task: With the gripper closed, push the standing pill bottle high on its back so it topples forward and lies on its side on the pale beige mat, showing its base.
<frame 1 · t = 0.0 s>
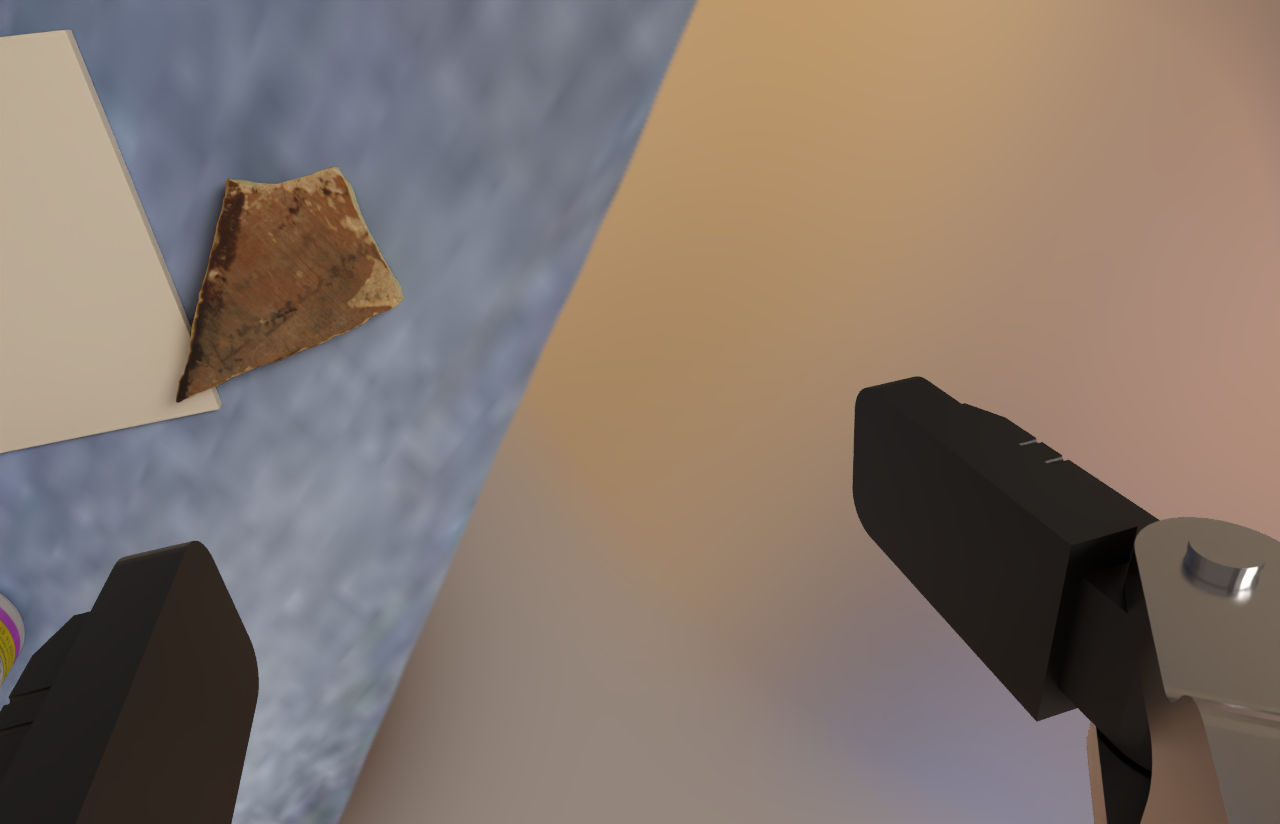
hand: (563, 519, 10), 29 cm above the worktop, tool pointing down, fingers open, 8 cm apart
shard: (304, 292, 36), on the worktop, touching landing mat
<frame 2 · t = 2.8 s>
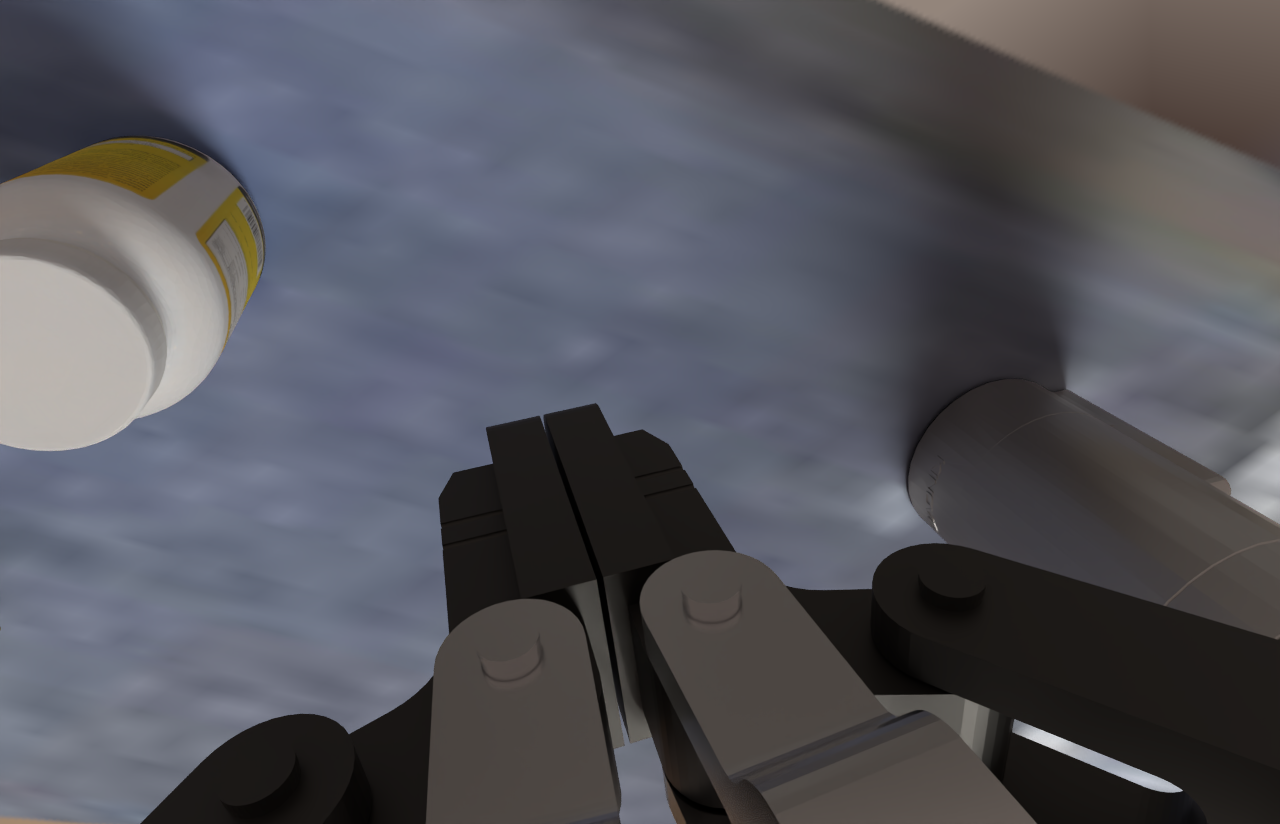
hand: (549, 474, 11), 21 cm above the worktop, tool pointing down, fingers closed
pill bottle: (169, 230, 27), on the worktop
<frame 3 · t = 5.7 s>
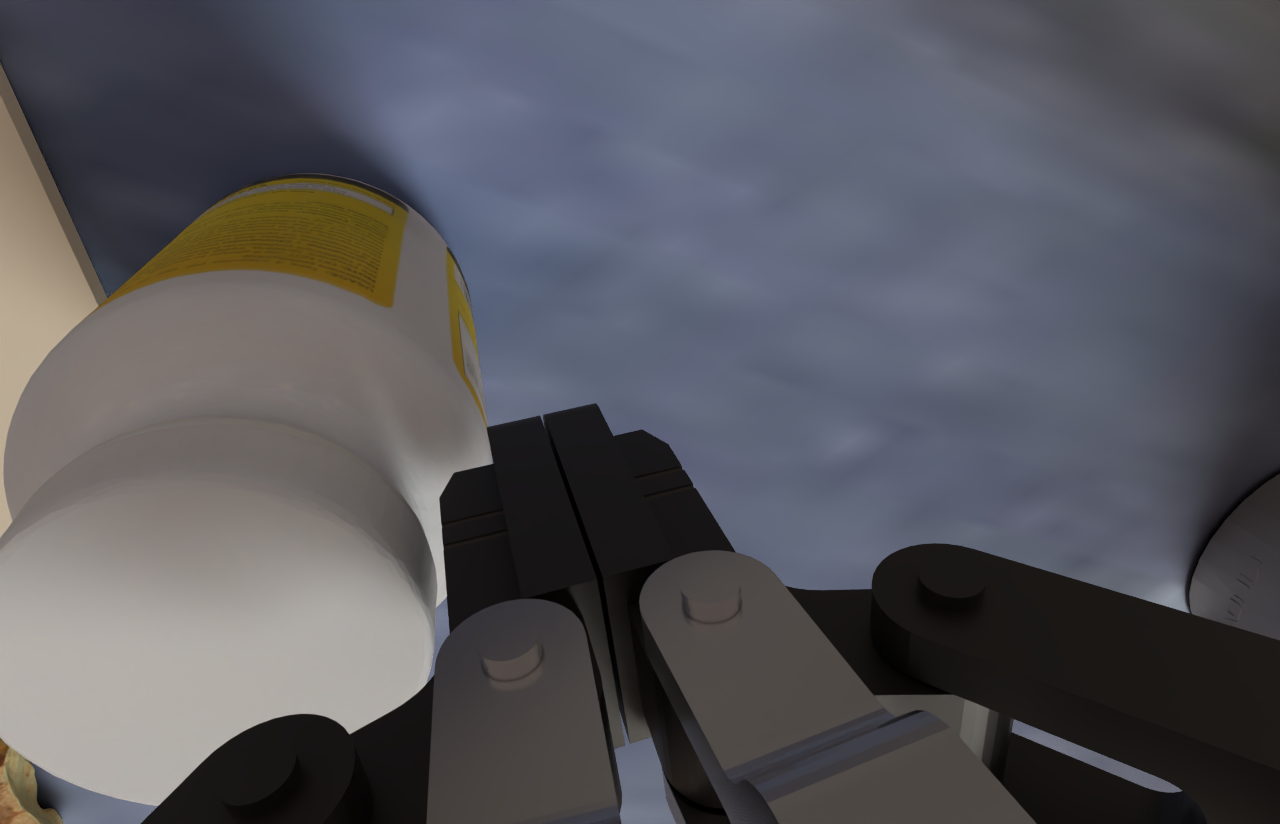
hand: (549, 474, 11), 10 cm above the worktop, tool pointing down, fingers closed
pill bottle: (334, 305, 19), on the worktop, touching gripper
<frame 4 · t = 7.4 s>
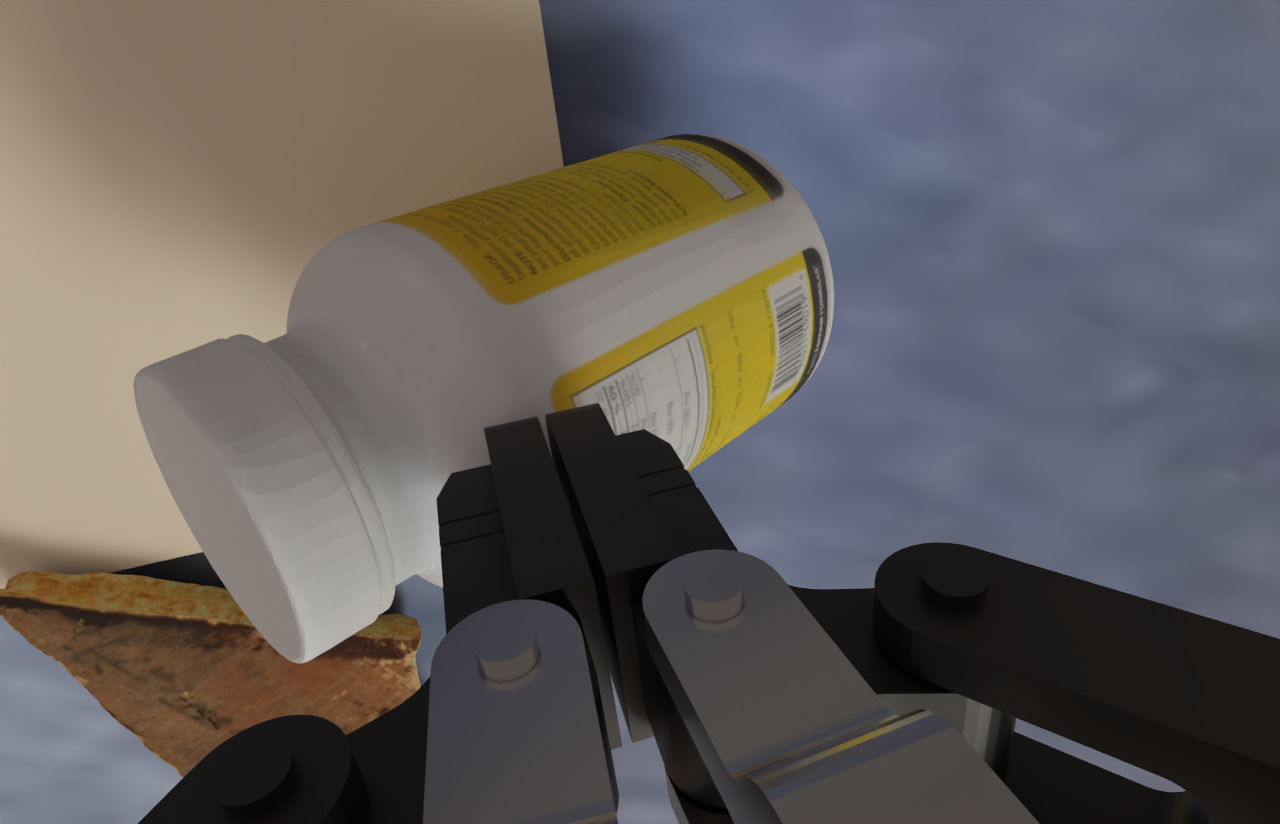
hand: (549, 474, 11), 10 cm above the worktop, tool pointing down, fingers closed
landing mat: (230, 285, 18), on the worktop
pill bottle: (730, 272, 18), point 3 cm above the worktop, touching gripper
shard: (239, 681, 23), on the worktop, touching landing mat
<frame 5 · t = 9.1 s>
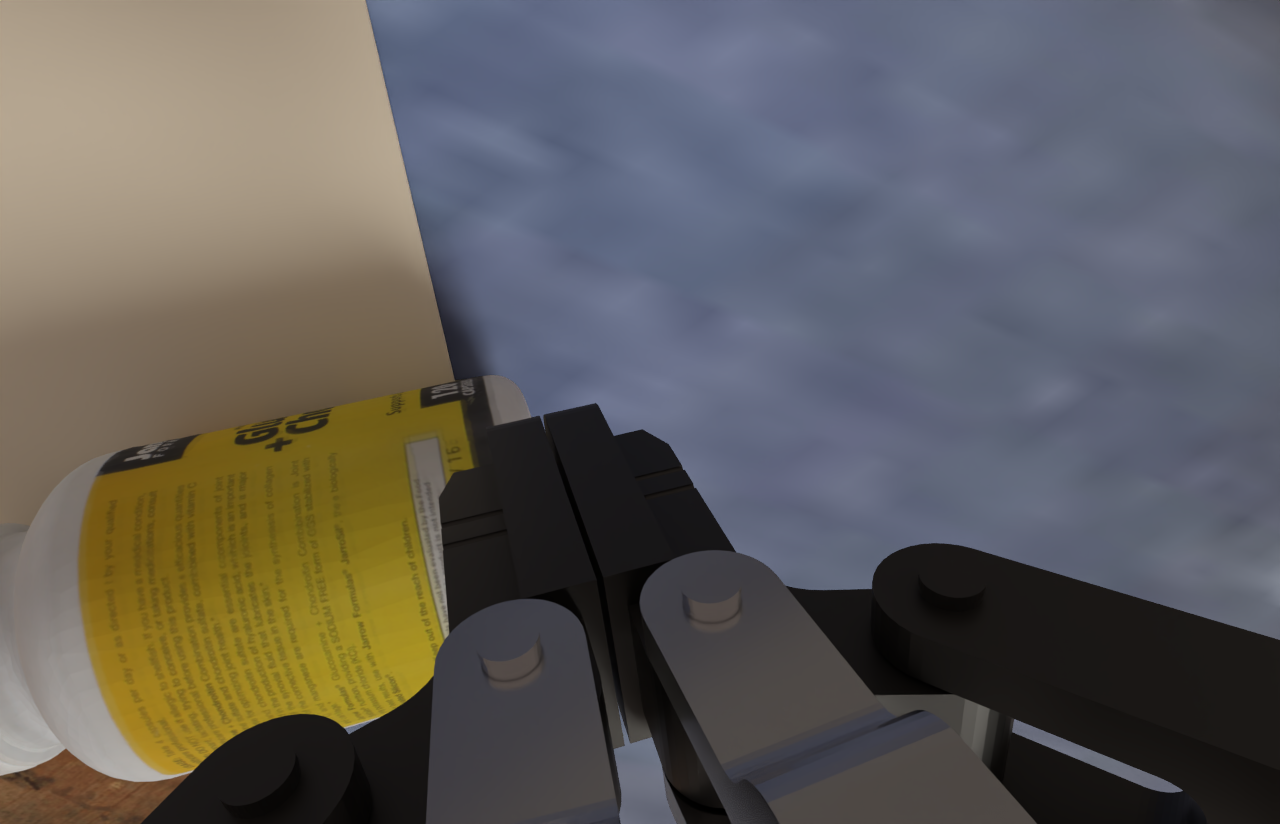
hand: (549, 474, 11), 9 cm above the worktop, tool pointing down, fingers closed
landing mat: (22, 298, 16), on the worktop
pill bottle: (559, 510, 17), point 4 cm above the worktop, touching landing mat
shard: (74, 731, 21), on the worktop, touching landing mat
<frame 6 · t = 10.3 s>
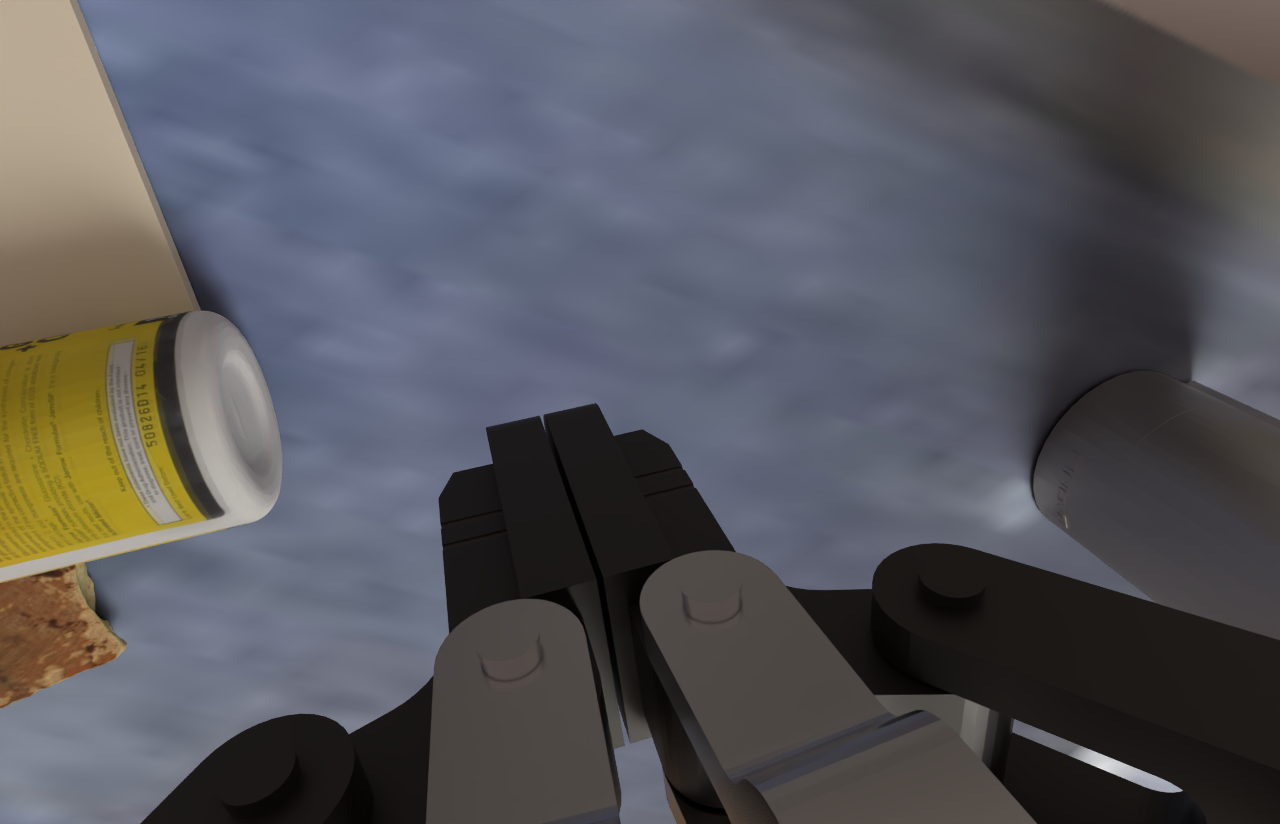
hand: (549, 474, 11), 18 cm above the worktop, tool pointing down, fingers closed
pill bottle: (260, 411, 23), point 4 cm above the worktop, touching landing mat
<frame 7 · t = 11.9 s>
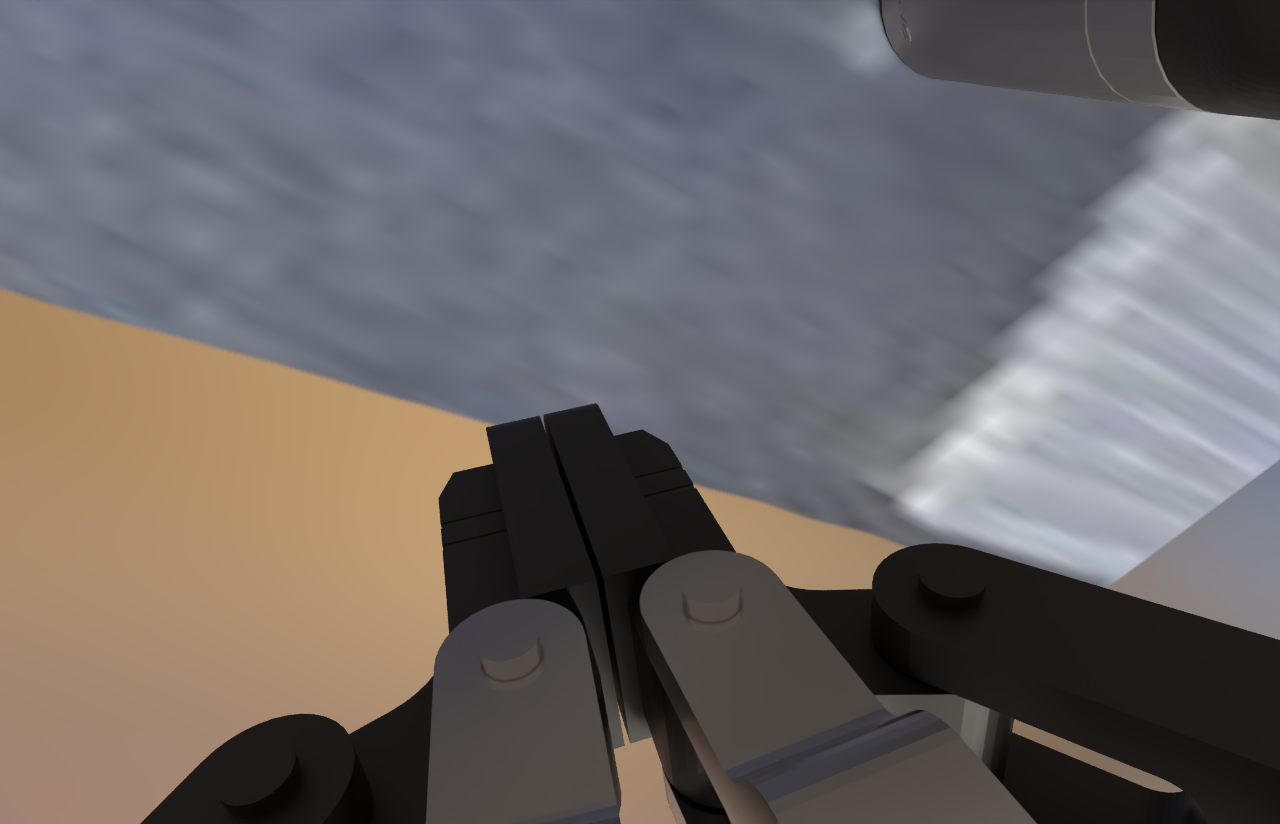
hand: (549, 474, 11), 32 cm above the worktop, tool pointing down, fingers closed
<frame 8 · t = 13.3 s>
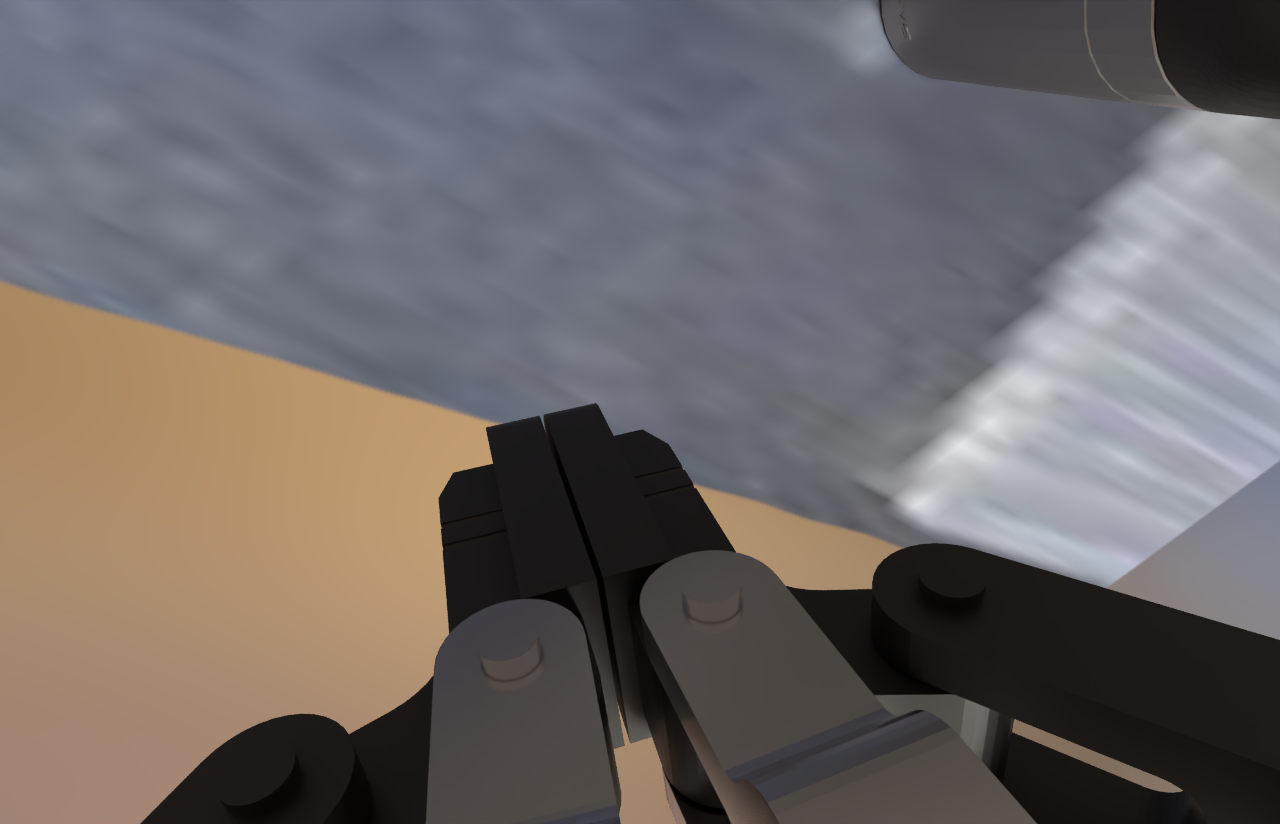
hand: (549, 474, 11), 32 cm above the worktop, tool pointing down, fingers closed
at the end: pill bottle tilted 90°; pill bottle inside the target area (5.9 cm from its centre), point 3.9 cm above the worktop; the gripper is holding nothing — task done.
